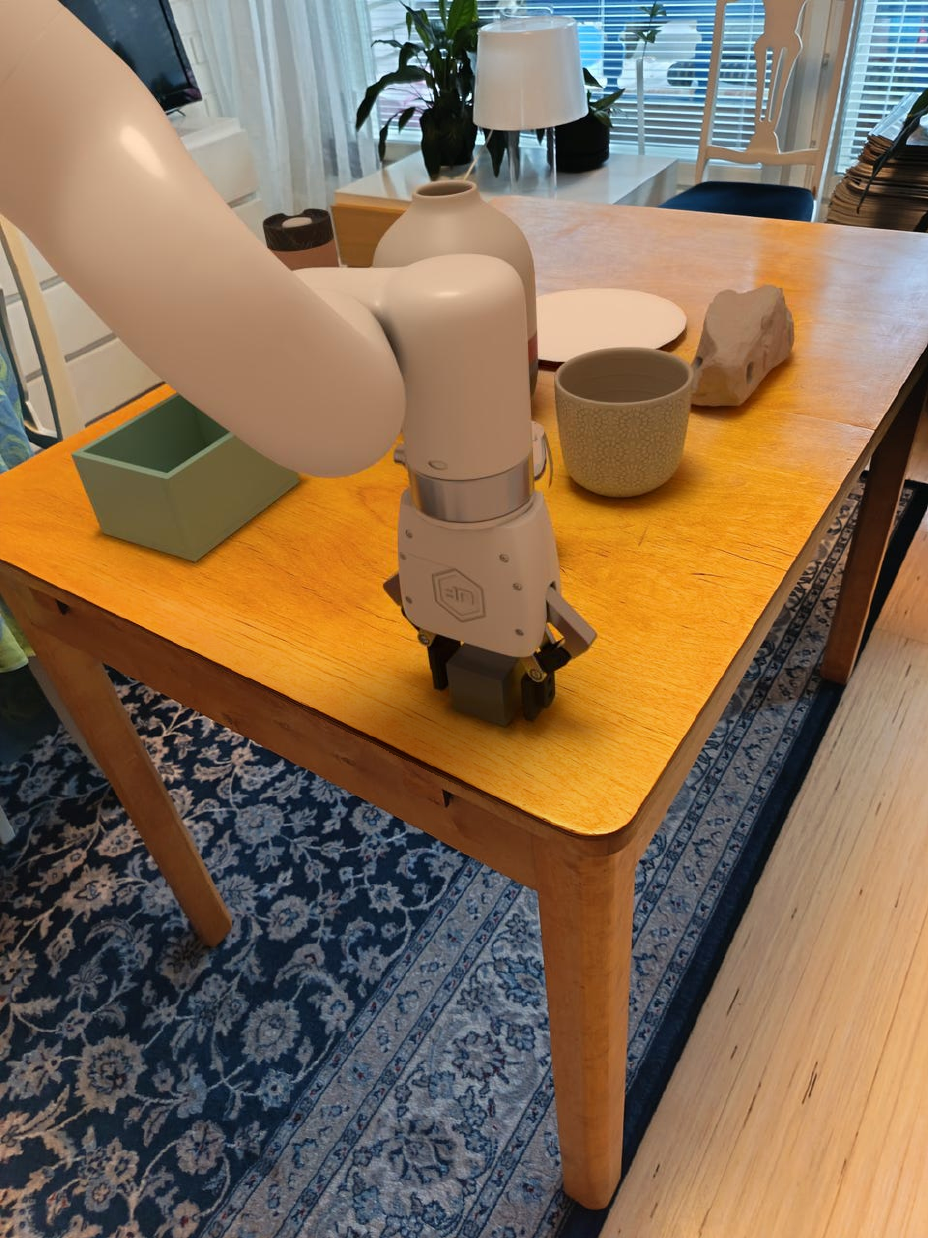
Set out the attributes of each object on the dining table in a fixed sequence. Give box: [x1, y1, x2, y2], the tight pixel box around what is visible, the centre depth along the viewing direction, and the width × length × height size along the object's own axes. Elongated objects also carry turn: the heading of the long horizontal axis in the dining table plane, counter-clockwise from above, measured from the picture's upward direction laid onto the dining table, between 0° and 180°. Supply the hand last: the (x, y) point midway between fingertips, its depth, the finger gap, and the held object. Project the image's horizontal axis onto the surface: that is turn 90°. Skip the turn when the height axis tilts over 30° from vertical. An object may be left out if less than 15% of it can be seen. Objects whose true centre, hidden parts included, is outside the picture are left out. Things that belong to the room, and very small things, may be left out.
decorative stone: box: [690, 284, 795, 407], centre depth 99 cm, size 20×8×10 cm, turn 145°
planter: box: [553, 347, 694, 498], centre depth 85 cm, size 12×12×11 cm
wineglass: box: [531, 420, 554, 497], centre depth 76 cm, size 6×6×12 cm
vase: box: [371, 179, 539, 402], centre depth 96 cm, size 17×17×24 cm
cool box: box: [70, 392, 301, 563], centre depth 89 cm, size 16×13×9 cm
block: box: [446, 642, 526, 728], centre depth 64 cm, size 4×4×4 cm
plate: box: [536, 287, 688, 365], centre depth 117 cm, size 25×25×2 cm
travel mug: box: [262, 207, 341, 271], centre depth 105 cm, size 8×8×20 cm
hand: (492, 691), depth 65 cm, fingers open, 6 cm apart
